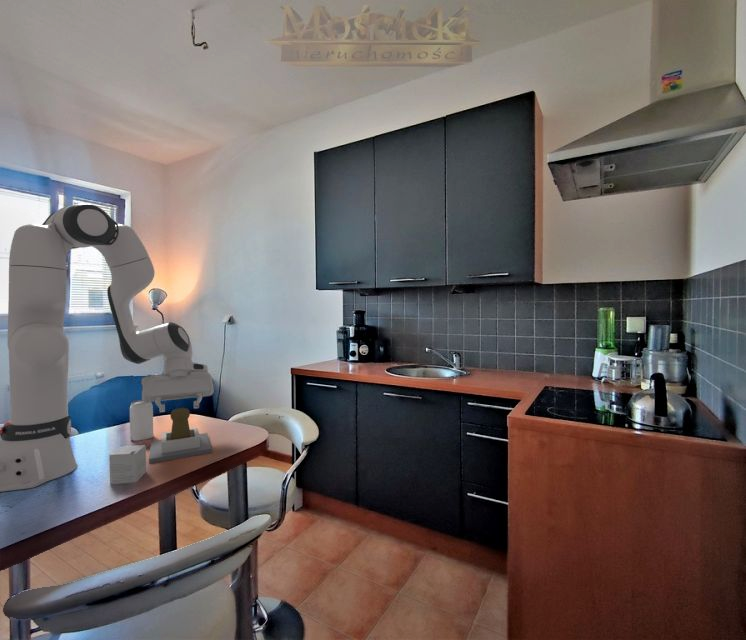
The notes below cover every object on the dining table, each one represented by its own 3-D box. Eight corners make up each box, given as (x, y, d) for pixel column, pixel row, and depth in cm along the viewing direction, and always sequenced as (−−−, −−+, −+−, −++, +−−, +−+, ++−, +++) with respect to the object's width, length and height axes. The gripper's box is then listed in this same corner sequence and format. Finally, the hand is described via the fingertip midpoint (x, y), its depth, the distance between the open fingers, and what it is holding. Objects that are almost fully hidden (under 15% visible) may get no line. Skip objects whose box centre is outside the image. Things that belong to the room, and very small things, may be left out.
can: (128, 437, 125) (127, 401, 124) (150, 433, 129) (150, 398, 129) (132, 442, 120) (131, 405, 120) (155, 438, 124) (154, 401, 124)
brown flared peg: (195, 441, 117) (195, 406, 117) (184, 448, 111) (183, 411, 111) (177, 440, 118) (176, 405, 118) (165, 448, 112) (164, 411, 112)
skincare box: (121, 474, 97) (120, 445, 97) (146, 472, 99) (146, 444, 98) (109, 485, 91) (108, 454, 91) (137, 482, 93) (136, 453, 92)
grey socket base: (148, 463, 104) (148, 448, 104) (151, 444, 118) (151, 431, 118) (211, 452, 112) (211, 438, 111) (207, 436, 126) (207, 423, 125)
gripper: (141, 369, 118) (139, 407, 110) (212, 364, 128) (215, 399, 119) (142, 381, 122) (140, 419, 114) (211, 375, 132) (214, 410, 123)
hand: (179, 409), depth 117 cm, fingers open, 8 cm apart
